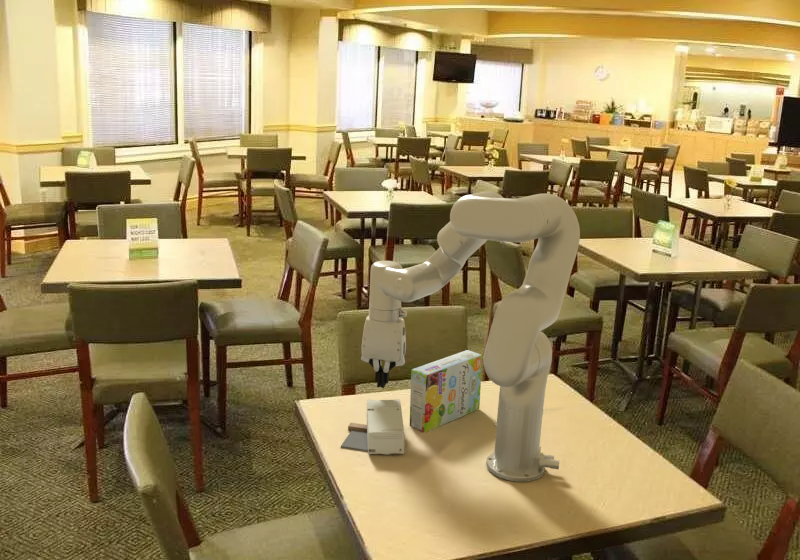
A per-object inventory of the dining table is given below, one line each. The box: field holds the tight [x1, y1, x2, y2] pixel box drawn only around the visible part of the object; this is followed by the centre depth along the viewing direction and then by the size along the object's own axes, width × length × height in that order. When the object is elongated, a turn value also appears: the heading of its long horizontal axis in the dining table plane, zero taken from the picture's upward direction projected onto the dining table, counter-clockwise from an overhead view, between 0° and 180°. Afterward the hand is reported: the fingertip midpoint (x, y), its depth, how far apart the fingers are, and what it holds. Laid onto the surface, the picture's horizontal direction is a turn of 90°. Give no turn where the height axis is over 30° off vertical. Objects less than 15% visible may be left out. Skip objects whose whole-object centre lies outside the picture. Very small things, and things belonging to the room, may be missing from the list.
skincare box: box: [366, 398, 405, 455], centre depth 172 cm, size 8×6×15 cm
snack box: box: [409, 349, 483, 434], centre depth 185 cm, size 21×6×15 cm, turn 136°
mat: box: [340, 430, 394, 456], centre depth 172 cm, size 12×8×1 cm
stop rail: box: [347, 422, 367, 432], centre depth 177 cm, size 12×2×1 cm, turn 76°
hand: (381, 385), depth 181 cm, fingers closed
